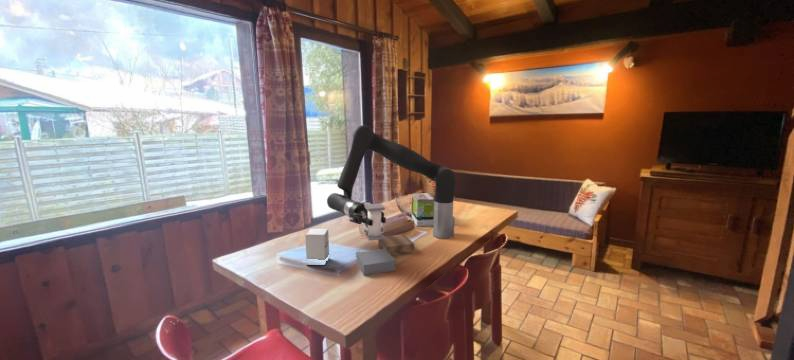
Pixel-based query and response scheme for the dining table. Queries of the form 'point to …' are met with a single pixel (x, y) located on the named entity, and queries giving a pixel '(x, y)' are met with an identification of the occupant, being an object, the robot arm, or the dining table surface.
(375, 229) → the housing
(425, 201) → the tea box
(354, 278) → the dining table surface
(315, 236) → the supplement box
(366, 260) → the stand
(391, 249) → the stand
